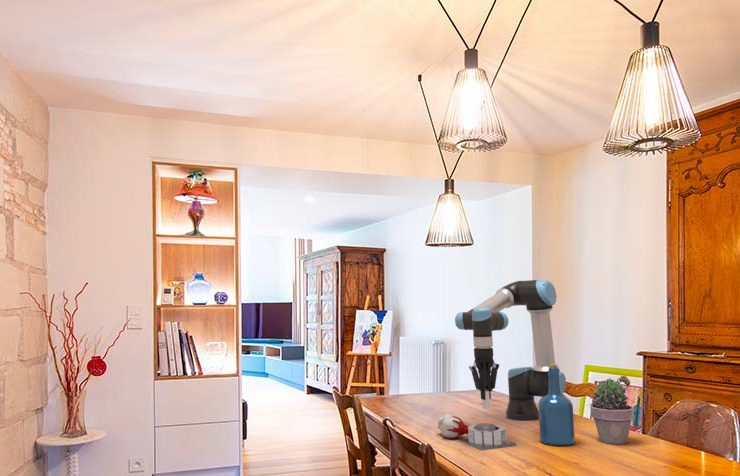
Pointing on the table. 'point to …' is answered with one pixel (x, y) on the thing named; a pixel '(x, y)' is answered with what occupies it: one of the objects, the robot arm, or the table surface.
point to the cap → (485, 427)
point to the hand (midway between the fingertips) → (486, 407)
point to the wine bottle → (556, 414)
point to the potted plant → (612, 411)
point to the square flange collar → (487, 438)
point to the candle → (452, 426)
